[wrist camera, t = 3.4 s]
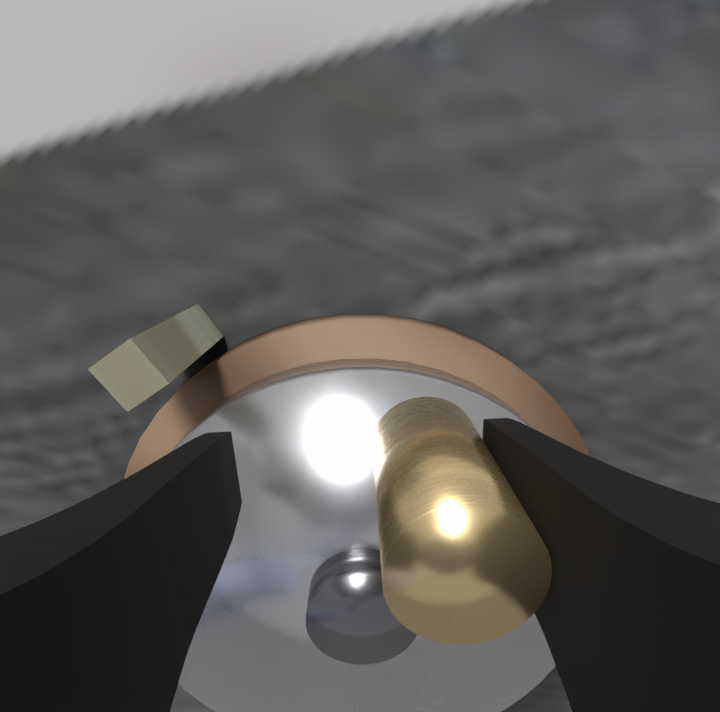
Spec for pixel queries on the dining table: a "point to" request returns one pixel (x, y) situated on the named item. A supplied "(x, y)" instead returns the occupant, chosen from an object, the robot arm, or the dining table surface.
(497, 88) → the dining table surface
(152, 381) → the wheel base
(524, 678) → the handwheel
